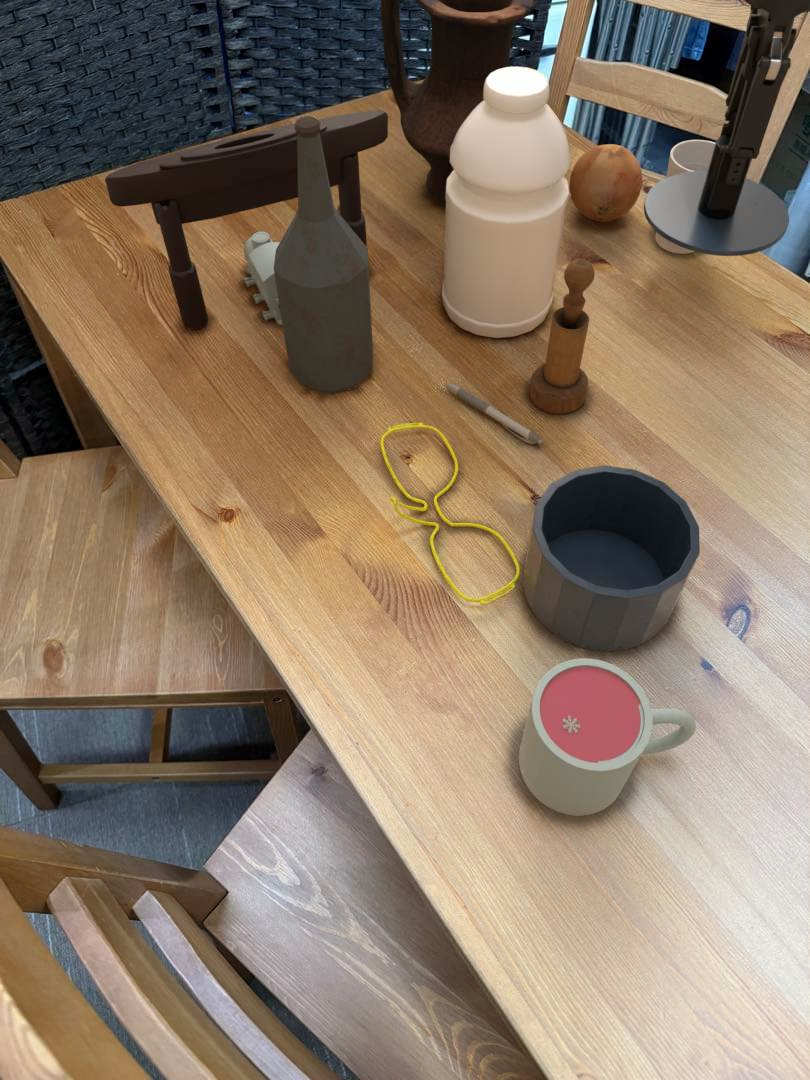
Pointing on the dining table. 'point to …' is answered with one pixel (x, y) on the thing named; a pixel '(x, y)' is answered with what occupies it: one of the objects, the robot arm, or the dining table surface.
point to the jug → (448, 72)
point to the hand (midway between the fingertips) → (720, 195)
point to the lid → (715, 213)
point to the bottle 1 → (323, 281)
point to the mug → (590, 735)
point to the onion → (605, 182)
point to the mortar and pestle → (565, 348)
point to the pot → (608, 557)
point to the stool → (243, 194)
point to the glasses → (395, 503)
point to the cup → (681, 161)
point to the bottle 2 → (505, 207)
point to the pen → (496, 415)
